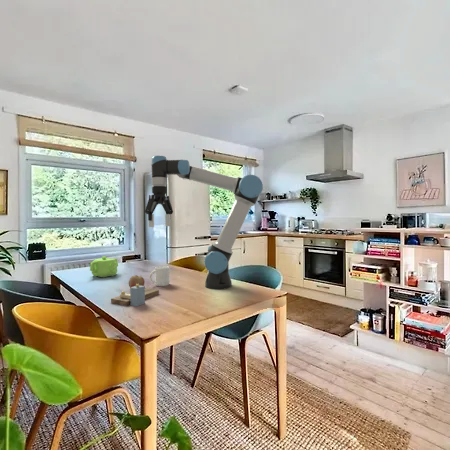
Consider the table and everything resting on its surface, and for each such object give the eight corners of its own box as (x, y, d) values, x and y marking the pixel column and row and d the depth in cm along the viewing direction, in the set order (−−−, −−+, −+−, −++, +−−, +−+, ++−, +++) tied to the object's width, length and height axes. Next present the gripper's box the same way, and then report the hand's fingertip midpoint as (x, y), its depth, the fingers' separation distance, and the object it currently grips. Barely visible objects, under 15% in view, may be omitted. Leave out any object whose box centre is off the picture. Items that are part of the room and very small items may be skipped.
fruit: (140, 292, 154) (140, 277, 153) (126, 291, 155) (126, 276, 155) (146, 288, 162) (146, 274, 161) (133, 287, 163) (133, 273, 163)
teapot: (127, 275, 199) (127, 256, 198) (101, 280, 182) (101, 259, 181) (110, 272, 208) (110, 254, 208) (84, 277, 192) (83, 257, 191)
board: (158, 293, 150) (158, 289, 150) (127, 305, 131) (126, 301, 131) (144, 291, 155) (143, 287, 155) (111, 302, 135) (110, 298, 135)
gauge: (144, 303, 134) (144, 283, 134) (137, 306, 130) (136, 285, 130) (125, 300, 140) (125, 281, 140) (117, 302, 135) (117, 283, 135)
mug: (152, 288, 162) (151, 269, 162) (146, 285, 169) (146, 267, 169) (171, 285, 169) (171, 267, 169) (166, 282, 176) (165, 265, 176)
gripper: (168, 188, 165) (168, 225, 166) (137, 184, 143) (137, 227, 144) (179, 187, 162) (179, 225, 163) (149, 183, 140) (149, 227, 140)
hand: (160, 226), depth 153 cm, fingers open, 13 cm apart
